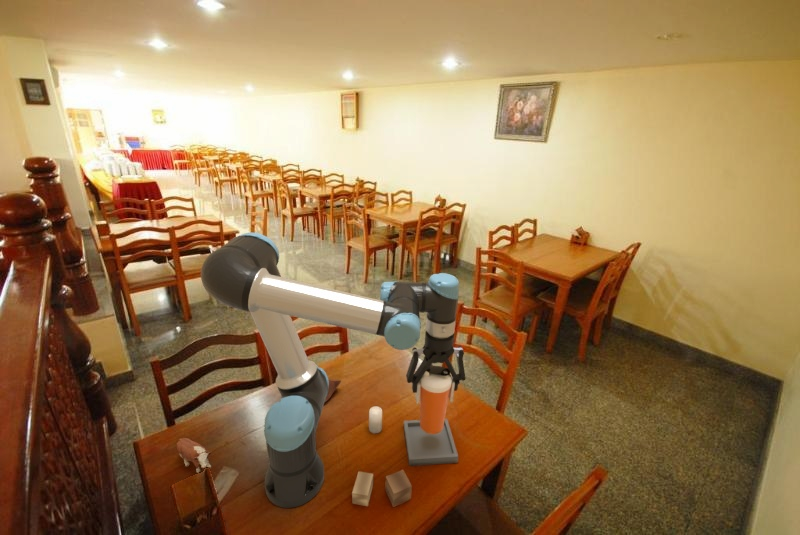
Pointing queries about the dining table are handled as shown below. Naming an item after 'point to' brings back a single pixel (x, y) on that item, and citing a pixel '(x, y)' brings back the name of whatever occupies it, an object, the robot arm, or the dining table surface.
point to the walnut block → (398, 488)
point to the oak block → (362, 488)
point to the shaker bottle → (434, 398)
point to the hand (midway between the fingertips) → (433, 399)
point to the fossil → (332, 387)
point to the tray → (429, 445)
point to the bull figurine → (193, 453)
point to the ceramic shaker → (375, 419)
